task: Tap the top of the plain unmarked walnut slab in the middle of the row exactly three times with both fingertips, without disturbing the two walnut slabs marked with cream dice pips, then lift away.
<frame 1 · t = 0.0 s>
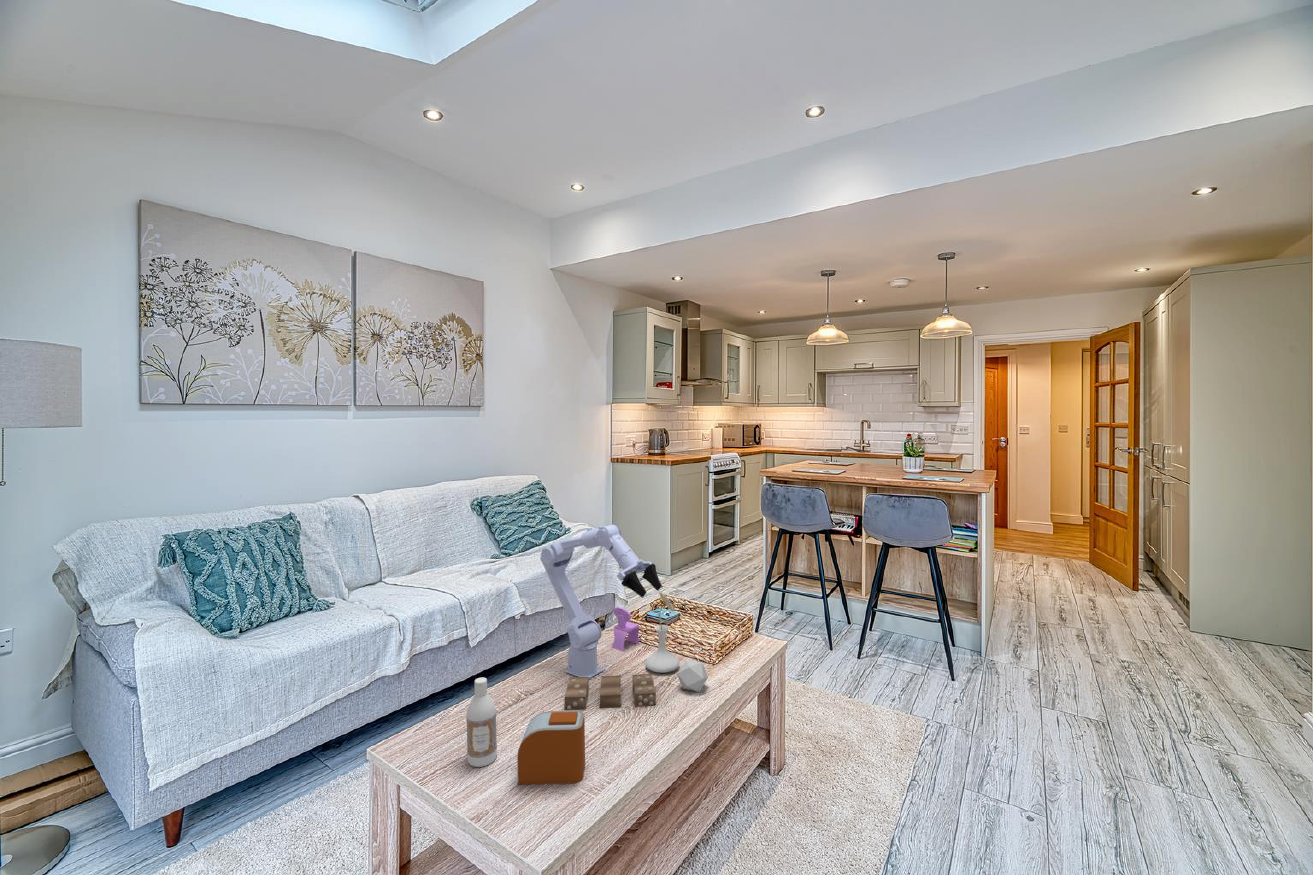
hand: (652, 591, 162), 32 cm above the table, tool tilted 50°, fingers open, 7 cm apart
flower in vase: (662, 667, 184), on the table
plain block: (610, 698, 165), on the table
toy chair: (625, 645, 201), on the table
die: (692, 688, 170), on the table
pip block three: (577, 699, 164), on the table
pip block five: (643, 696, 165), on the table
bath foam: (482, 759, 135), on the table
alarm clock: (553, 772, 130), on the table
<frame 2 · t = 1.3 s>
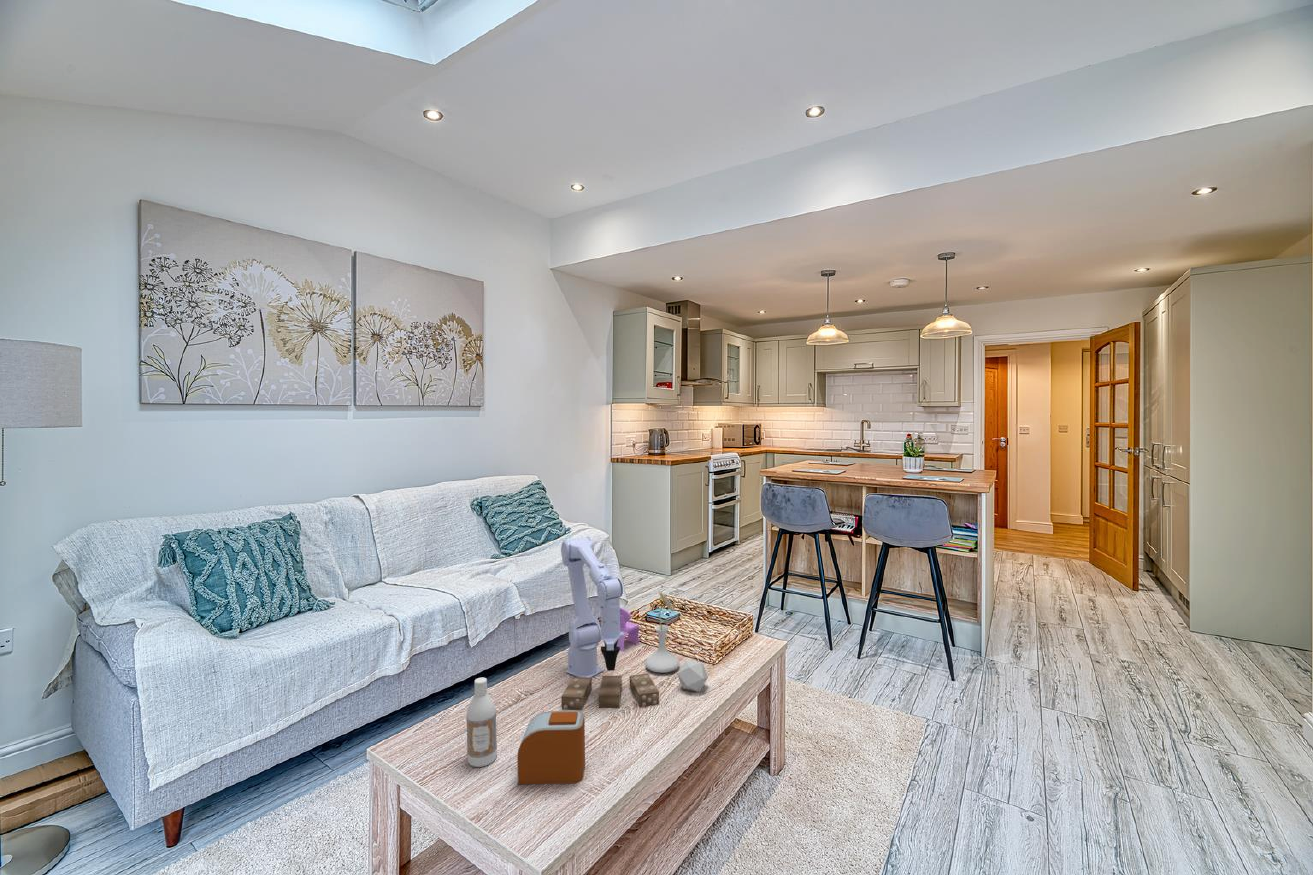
hand: (611, 664, 164), 10 cm above the table, tool pointing down, fingers open, 7 cm apart
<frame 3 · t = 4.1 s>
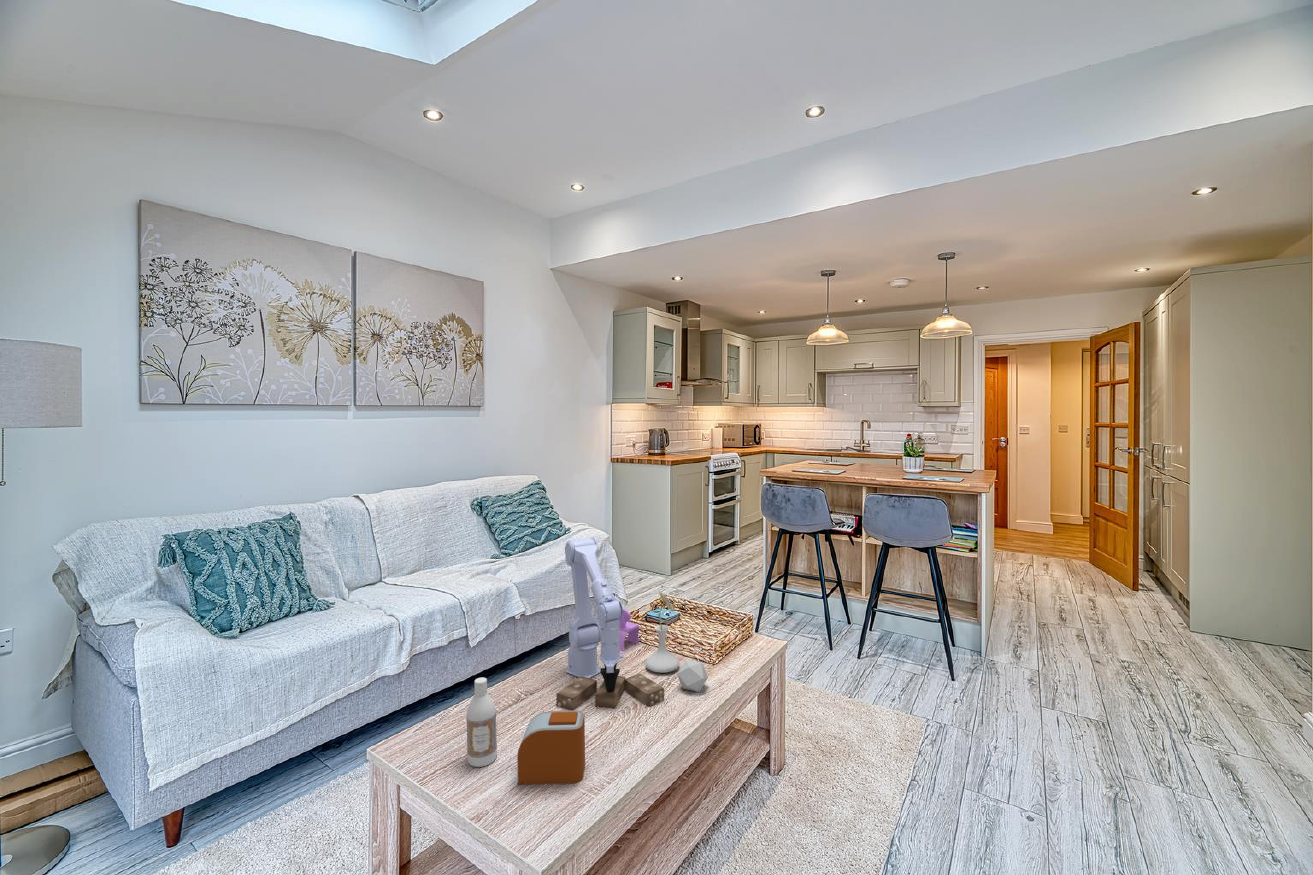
hand: (610, 685, 164), 4 cm above the table, tool pointing down, fingers open, 7 cm apart
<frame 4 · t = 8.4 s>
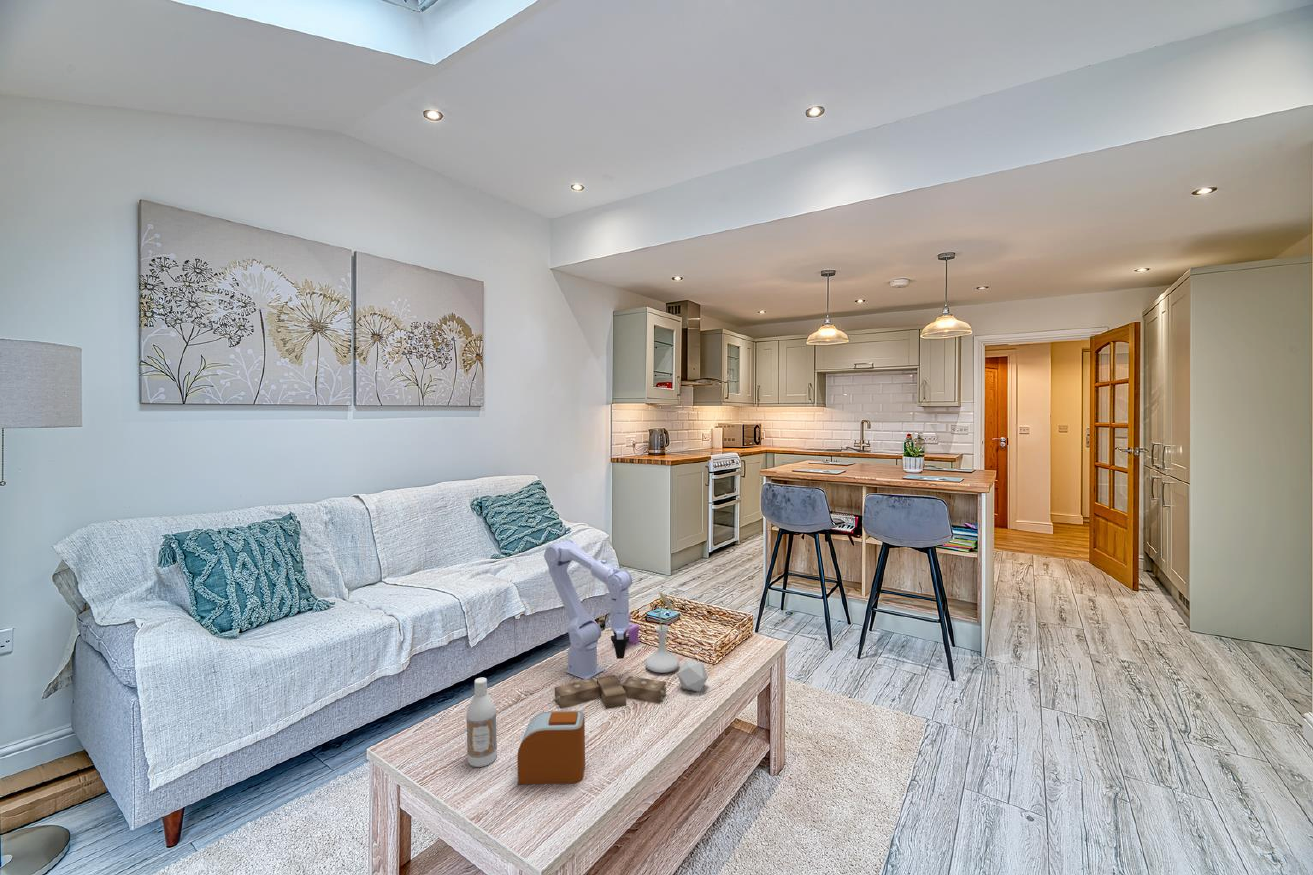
hand: (620, 652, 172), 10 cm above the table, tool pointing down, fingers open, 7 cm apart
at the end: plain block moved 0.4 cm from its start; pip block three moved 0.4 cm from its start; pip block five moved 0.4 cm from its start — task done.
